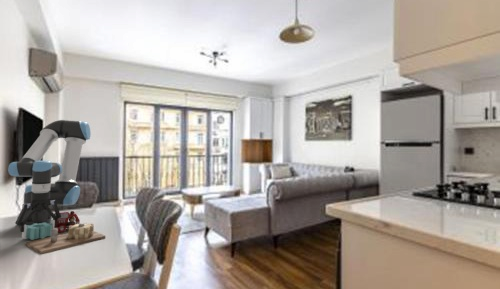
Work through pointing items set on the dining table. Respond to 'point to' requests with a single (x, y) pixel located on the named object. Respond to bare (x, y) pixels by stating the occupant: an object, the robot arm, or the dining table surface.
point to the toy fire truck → (66, 221)
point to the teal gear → (38, 230)
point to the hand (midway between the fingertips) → (38, 235)
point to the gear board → (66, 238)
